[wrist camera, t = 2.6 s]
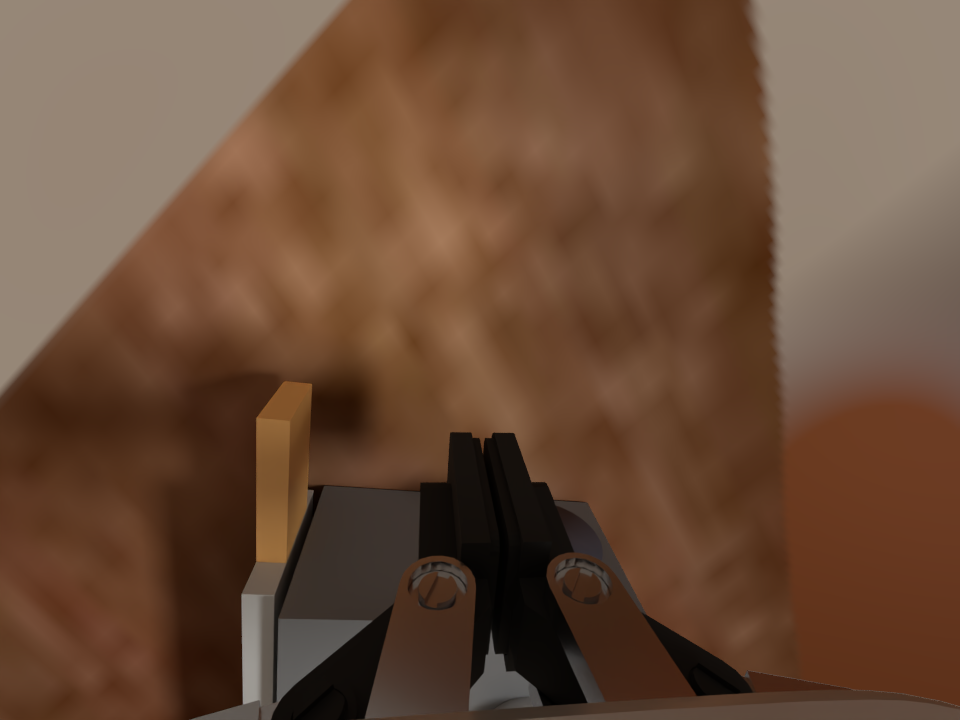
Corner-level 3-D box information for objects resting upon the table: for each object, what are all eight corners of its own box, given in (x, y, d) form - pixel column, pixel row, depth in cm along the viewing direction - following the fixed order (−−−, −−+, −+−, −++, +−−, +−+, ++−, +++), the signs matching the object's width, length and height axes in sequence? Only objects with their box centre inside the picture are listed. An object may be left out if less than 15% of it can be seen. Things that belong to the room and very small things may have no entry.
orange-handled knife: (303, 781, 21) (273, 926, 17) (277, 782, 21) (241, 928, 17) (324, 372, 15) (284, 443, 10) (288, 368, 14) (232, 440, 10)
